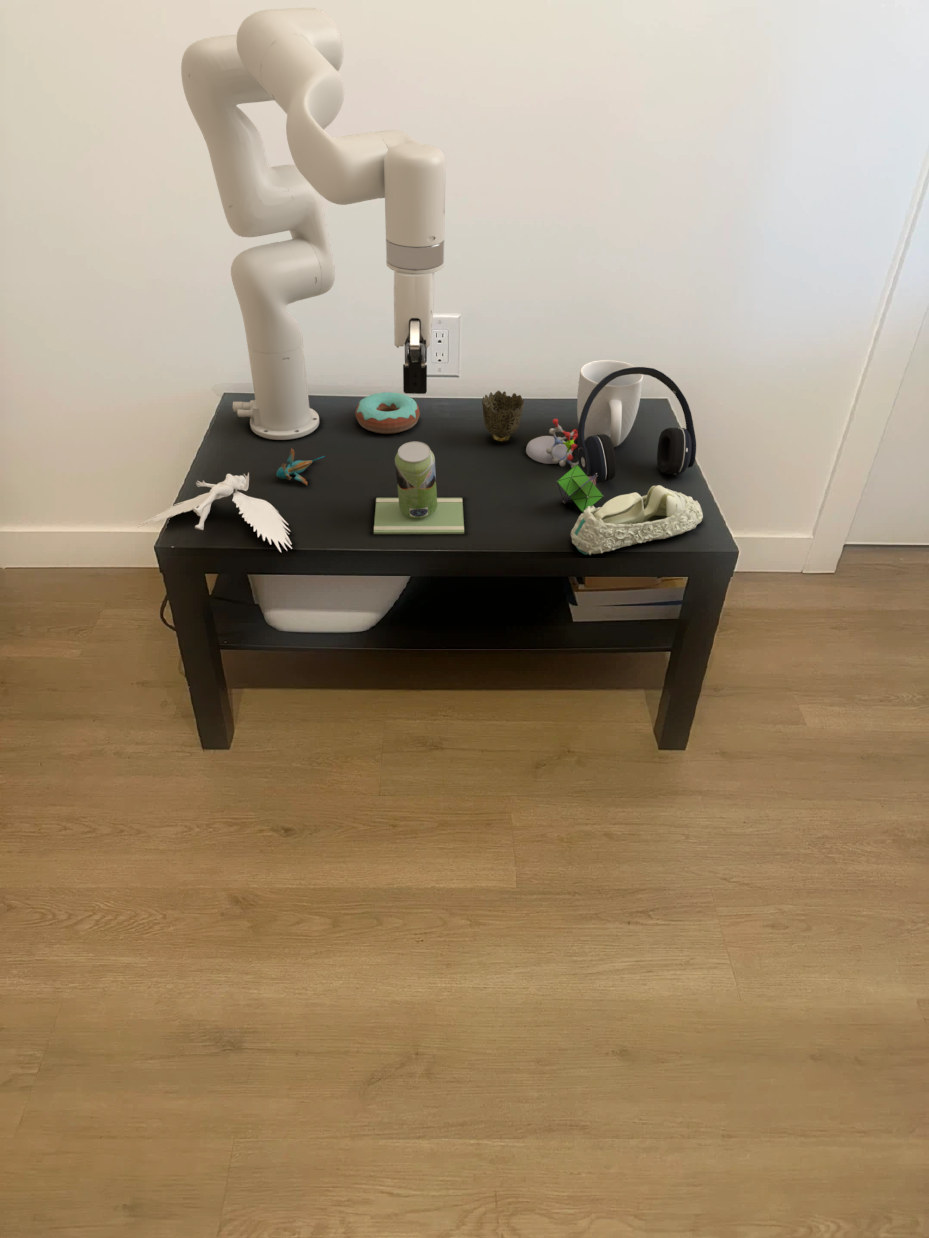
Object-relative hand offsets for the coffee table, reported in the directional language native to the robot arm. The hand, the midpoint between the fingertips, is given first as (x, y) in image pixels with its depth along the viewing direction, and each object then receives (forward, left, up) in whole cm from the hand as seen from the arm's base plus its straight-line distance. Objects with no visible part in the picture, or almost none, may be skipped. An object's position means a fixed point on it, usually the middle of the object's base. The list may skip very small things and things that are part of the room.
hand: (415, 377), depth 123 cm
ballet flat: (+35, -6, -24) cm, 42 cm away
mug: (+34, +24, -23) cm, 47 cm away
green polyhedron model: (+27, -1, -19) cm, 33 cm away
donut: (-6, +32, -24) cm, 40 cm away
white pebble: (+23, +20, -21) cm, 37 cm away
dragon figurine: (-20, +13, -24) cm, 33 cm away
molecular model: (+25, +21, -18) cm, 37 cm away
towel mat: (0, 0, -23) cm, 23 cm away
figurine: (-31, -9, -15) cm, 36 cm away
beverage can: (0, 0, -23) cm, 23 cm away
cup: (+15, +25, -24) cm, 37 cm away
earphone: (+38, +10, -23) cm, 45 cm away
